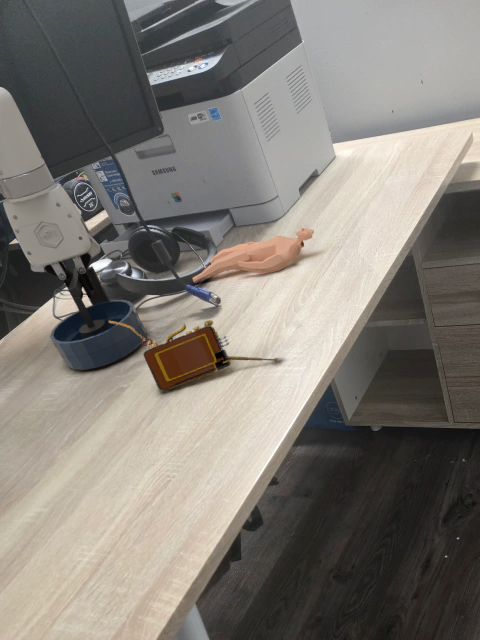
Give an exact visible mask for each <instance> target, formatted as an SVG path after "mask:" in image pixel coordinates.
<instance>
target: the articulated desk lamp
mask: <svg viewBox="0 0 480 640" xmlns="http://www.w3.org/2000/svg"><path fill="white" fill-rule="evenodd" d="M87 271H88V273H89V275H90V277H91V279H92V281H93V283H94V285H95V290H94V295H93V297H92V298H88V300H89V301H90V304H91V305H94V304H97V303H101V302H105V301H110V298H109V296H108V293H107V292H106V290H105V288H104V287H103V283H102V282H101V280H100V278H99V276H98V275H97V273H96V270H95V268H94V266H93V265H91V266H88V267H87ZM72 273H73V276H72V280H71V283H70V286H69V290H68V293H69V294H70V296H71V299H72V300H73V302H74V303H75V305H76V307H77V309H78V311H80V313H81V315H82V317H83V318H84V320H85V322H86V324H85V325H83V326H82V327H81V328H80V329H79V332H80V334H81V336H82V338H83V339H85V338H89V337H92V336H95V335H97V334H99V333H102V332H104V331H106V330H108V327H107V325H106V323H105V321H104V320H94V321H93V320H92V318H91V316H90V314H89V312H88V310H87V308H86V307H87V306H86V305H85V303H84V301H83V298H82V299H81V297H80V296H81V292H82V291H83V286H82V284H81V282H80V280H79V278H78V272H77V268H76V265H75V264H74V269H73V272H72Z"/></svg>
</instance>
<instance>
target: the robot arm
mask: <svg viewBox="0 0 480 640" xmlns="http://www.w3.org/2000/svg"><path fill="white" fill-rule="evenodd" d="M0 195H1V196H3V198H4V199H5V200H4V201H3V202H2V205H3V208H4V209H3V210H4V212H5V214H6V217H7V219H8V222H9V224H10V227H11V229H12V231H13V233H14V235H15V237H16V240H17V242H18V244H19V246H20V248H21V250H22V252H23V254H24V256H25V258H26V259H27V261H28V262H29V265H30V270H31V271H32V272H34V273H48V274H50V275H52V276H55V277H57V278H58V279H59V280H61V281H63V283H64V284H65V287H66V288H67V290H68V291H69V286H70V283H71V280H72V276H73V272H72V271H70V270H69V269H68V268H67V266H66V264H65V263H64V261H65V260H69V259H72V261H73V263H74V266H75V265H76V268H77V272H78V278H79V280H80V282H81V284H82V286H83V288H82V292H81V296H80V297H81V299H82V300H83V299H84V292H85V295H86V296H87V298H88V299H89V298H92V297H93V295H94V290H95V285H94V283H93V281H92V279H91V277H90V275H89V273H88V271H87V268H88V267H89V265H90V262H91V260H92V259H93V258H95V257H97V255H99V254H100V253H101V251H102V246H101V245H100V244H99V243H98V242H97V241H96V240H95V238H93V236H92V234H91V232H90V230H89V228H88V226H87V224H86V222H85V220H84V218H83V216H82V215H81V213H80V211H79V210H78V208H77V207H76V205H75V204H74V202H73V200H72V199H71V197H70V195H69V194H68V193H67V191H66V190H65V188H64V187H63V185H61V183H58V182H57V183H56V182H55V179H54V177H53V176H52V174H51V172H50V170H49V168H48V166H47V163H46V162H45V160H44V158H43V156H42V154H41V152H40V150H39V148H38V146H37V144H36V142H35V139H34V138H33V136H32V134H31V132H30V129H29V128H28V126H27V124H26V121H25V119H24V117H23V116H22V113H21V111H20V109H19V107H18V105H17V103H16V101H15V99H14V97H13V96H12V94H11V93H10V92H9V91H8V90H7V89H6V88H4V87H1V86H0Z"/></svg>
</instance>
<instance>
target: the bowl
mask: <svg viewBox="0 0 480 640" xmlns="http://www.w3.org/2000/svg"><path fill="white" fill-rule="evenodd" d="M109 300H110V299H109ZM85 307H86V308H87V310H88V312H89V314H90V316H91V318H92V320H93V321H94V320H104V321H105V323H106V325H107V327H108V330H106V331H104V332H102V333H99V334H97V335H95V336H92V337H89V338H85V339H83V338H82V336H81V334H80V332H79V329H80V328H81V327H82V326H83V325H85V324H86V322H85V320H84V318H83V317H82V315H81V313H80V311H79V310H76V311H75V312H73V313H72V314H70V315H68V316H66V317H65V318H63V319H62V320H61V321H60V322H58V323H57V324H56V325H55V327H53V329H52V330H51V331H50V335H49V339H50V340H51V342H52V343H53V345H54V347H55V348H56V350H57V352H58V353H59V355H60V356H61V358H62V360H63V362H64V363H65V365H66V366H67V367H68V368H69V369H73V370H80V371H81V370H91V369H96V368H100V367H104V366H107V365H109V364H113V363H114V362H116V361H119V360H121V359H123V358H124V357H126V356H128V355H129V354H130V353H132V352H134V351H135V350H136V349H137V348H138V347H139V346H140V345H142V343H141V341H142V340H143V339H144V338H145V339H146V337H147V330H146V328H145V325H144V323H143V322H142V319H141V317H140V316H139V312H138V311H137V309H136V307H135V306H134V304H133V303H132V302H131V301H129V300H127V299H126V300H125V299H112V300H110V301H105V302H101V303H97V304H94V305H92V304H91V305H88V306H85ZM109 321H114V322H118V323H119V322H120V323H123V324H126V325H128V326H131V327H132V328H134V329H135V331H137V333H138V334H139V335H141V336H142V337H144V338H141V337H140V336H138V335H137V334H136V332H135V333H134V331H133V329H132V330H131V329H130V328H131V327H130V328H127V327H126V326H122V325H119V324H118V325H117V324H113V323H109Z"/></svg>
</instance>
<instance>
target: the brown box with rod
mask: <svg viewBox="0 0 480 640" xmlns="http://www.w3.org/2000/svg"><path fill="white" fill-rule="evenodd" d="M109 323H113V324H117V325H118V324H119V325H122V326H126V327H127V328H130V327H131V326H128V325H126V324H123V323H120V322H119V323H118V322H114V321H109ZM213 325H214V321H213V319H208V320H205V322H204V324H203V327H200V326H199V325H196V326H194V327H193V328H192V330H193V331H192V330H189V331H187V332H185V334H183V335H180V336H178V337H175V336H177V335H179V334H181V333H183V332H184V331H185V330H186V329H187V324H186V323H185V322H183V324H182V327H181V328H180V329H178V330H177V331H174V332H173V333H171V334H169V335H168V336H167V338H166V340H165V343H161V344H159V343H158V341H153V340H152V339H150V338H146V337H145V338H144V337H142V336H141V335H139V334H138V333H137V331H135V329H134V328H132V327H131V328H130V329H131V330H132V329H133V331H134V333H135V332H136V334H137V335H138V336H140V337H141V338H144V339H143V340H142V341H141V345H143V346H145V347H147V350H145V351H143V357H144V361H145V363H146V364H147V366H148V368H149V371H150V373H151V375H152V378H153V380H154V382H155V385H156V386H157V388H158V390H159V391H164V390H172V389H174V388H177V387H179V386H181V385H184V384H186V383H189V382H191V381H195V382H196V381H199V380H201V379H203V378H206V377H208V376H210V375H213V374H215V373H216V371H221V370H223V369H225V368H227V367H230V366H231V365H232V364H231V362H232V361H261V362H262V361H271V362H273V361H274V362H276V363H278V362H279V358H278V357H276V358H262V357H250V356H249V357H248V356H234V355H233V356H229V355H228V354H227V351H226V349H224V347H227V346H229V345H230V342H228V340H230V339H227V337H228V336H227V335H223V336H221V337H220V335H219V333H218V331H216V329H215V328H214V326H213ZM174 337H175V338H174ZM146 341H147V344H145V343H144V342H146ZM151 345H152V346H151ZM150 346H151V347H150Z"/></svg>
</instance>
